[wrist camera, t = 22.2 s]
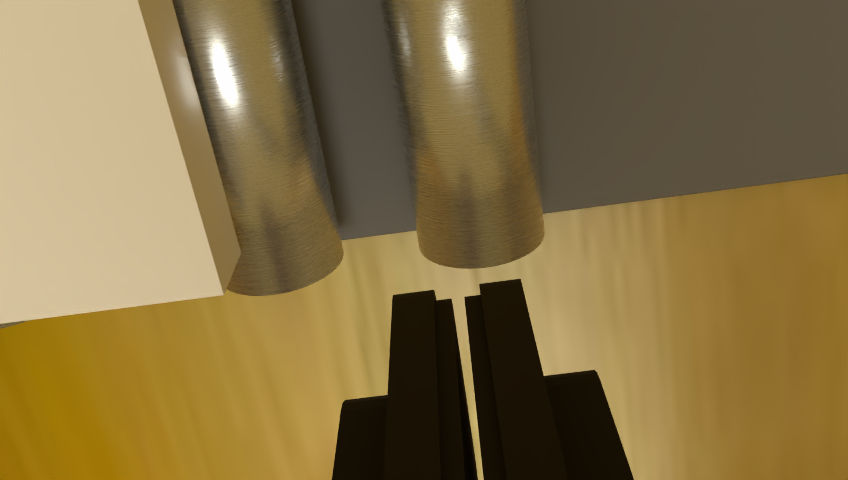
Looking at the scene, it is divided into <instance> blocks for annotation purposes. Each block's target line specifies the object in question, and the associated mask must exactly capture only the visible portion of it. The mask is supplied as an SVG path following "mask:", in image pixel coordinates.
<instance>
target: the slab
mask: <svg viewBox="0 0 848 480" xmlns="http://www.w3.org/2000/svg"><path fill="white" fill-rule="evenodd" d="M240 255H241V251H240V247H239V243H238V240H237V236H236V232H235V229H234V225H233V221H232V218H231V214H230V210H229V207H228V203H227V199H226V196H225V192H224V188H223V185H222V181H221V177H220V174H219V170H218V167H217V163H216V159H215V156H214V152H213V148H212V145H211V141H210V137H209V134H208V130H207V126H206V123H205V119H204V115H203V112H202V108H201V104H200V101H199V97H198V93H197V90H196V86H195V82H194V79H193V75H192V71H191V68H190V64H189V60H188V57H187V53H186V49H185V46H184V42H183V38H182V35H181V31H180V28H179V24H178V20H177V17H176V13H175V9H174V6H173V2H172V0H0V324H3V323H10V322H18V321H26V320H34V319H41V318H49V317H57V316H65V315H72V314H80V313H88V312H96V311H103V310H111V309H119V308H127V307H134V306H142V305H150V304H157V303H165V302H173V301H181V300H188V299H196V298H204V297H212V296H219V295H224V293H225V291H226V288H227V286H228V283H229V281H230V279H231V276H232V274H233V271H234V269H235V267H236V264H237V262H238V259H239V257H240Z"/></svg>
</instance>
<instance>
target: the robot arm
mask: <svg viewBox="0 0 848 480" xmlns="http://www.w3.org/2000/svg"><path fill="white" fill-rule="evenodd" d="M479 285H480V294H481V295H476V296H468V297H465V307H466V316H467V325H468V335H469V344H470V354H471V363H472V372H473V382H474V391H475V401H476V410H477V420H478V429H479V438H480V448H481V457H482V467H483V476H484V480H634V479H633V476H632V473H631V470H630V467H629V464H628V461H627V458H626V455H625V452H624V449H623V446H622V443H621V440H620V437H619V434H618V431H617V428H616V425H615V423H614V420H613V417H612V414H611V411H610V408H609V405H608V402H607V399H606V396H605V393H604V390H603V387H602V384H601V381H600V379H599V376H598V374H597V372H596V371H595V370H591V371H582V372H574V373H566V374H557V375H549V376H544V375H543V371H542V367H541V363H540V359H539V354H538V350H537V346H536V342H535V338H534V333H533V329H532V325H531V321H530V317H529V312H528V308H527V304H526V300H525V295H524V291H523V287H522V283H521V279H515V280H507V281H500V282H492V283H484V284H479ZM332 480H478V477H477V469H476V461H475V454H474V447H473V440H472V433H471V427H470V420H469V413H468V406H467V399H466V393H465V386H464V379H463V372H462V365H461V358H460V352H459V345H458V338H457V331H456V324H455V318H454V311H453V304H452V299H444V300H437V301H436V296H435V292H434V290H429V291H421V292H413V293H406V294H398V295H393V299H392V319H391V339H390V359H389V379H388V395H384V396H376V397H367V398H359V399H351V400H345V401H344V402H343V404H342V408H341V414H340V422H339V430H338V437H337V445H336V453H335V460H334V468H333V476H332Z"/></svg>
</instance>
